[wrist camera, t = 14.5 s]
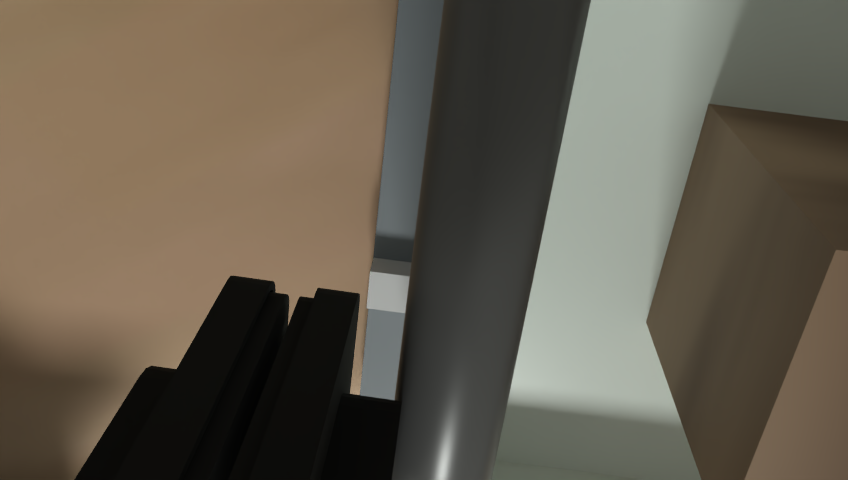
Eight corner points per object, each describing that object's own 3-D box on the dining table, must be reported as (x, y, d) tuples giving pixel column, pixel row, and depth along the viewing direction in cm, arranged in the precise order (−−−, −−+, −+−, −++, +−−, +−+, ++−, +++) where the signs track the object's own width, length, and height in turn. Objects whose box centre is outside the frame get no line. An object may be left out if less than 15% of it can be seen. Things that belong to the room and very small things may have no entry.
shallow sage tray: (481, -251, 16) (493, -402, 6) (1134, -166, 16) (2290, -167, 6) (400, 386, 23) (342, 813, 13) (847, 444, 23) (1135, 915, 13)
